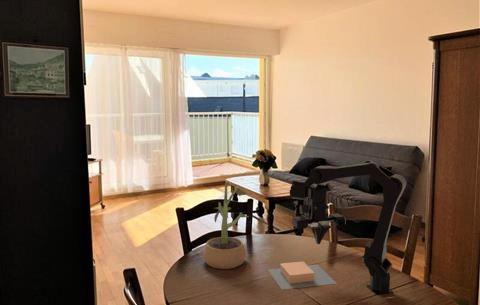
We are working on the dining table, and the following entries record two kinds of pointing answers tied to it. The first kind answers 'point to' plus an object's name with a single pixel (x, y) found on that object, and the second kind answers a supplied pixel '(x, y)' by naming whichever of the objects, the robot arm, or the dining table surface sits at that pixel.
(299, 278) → the tile
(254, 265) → the dining table surface
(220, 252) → the potted plant
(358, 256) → the dining table surface
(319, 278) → the mat
